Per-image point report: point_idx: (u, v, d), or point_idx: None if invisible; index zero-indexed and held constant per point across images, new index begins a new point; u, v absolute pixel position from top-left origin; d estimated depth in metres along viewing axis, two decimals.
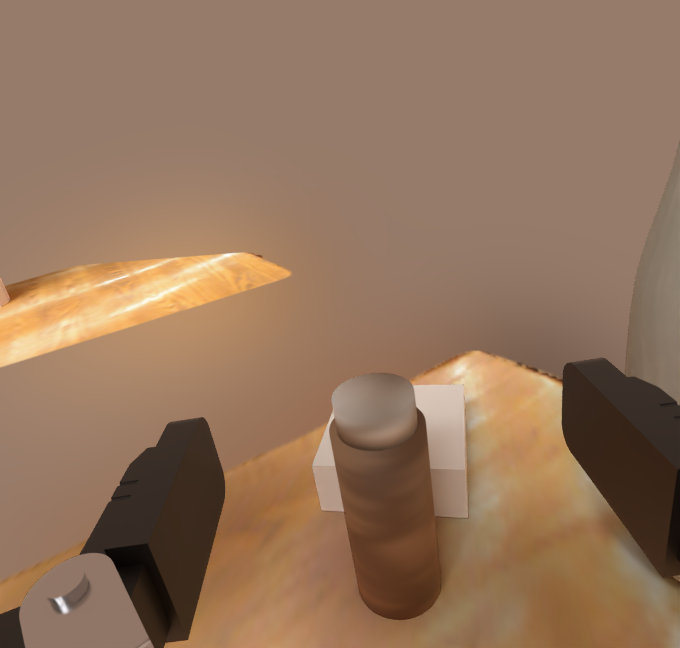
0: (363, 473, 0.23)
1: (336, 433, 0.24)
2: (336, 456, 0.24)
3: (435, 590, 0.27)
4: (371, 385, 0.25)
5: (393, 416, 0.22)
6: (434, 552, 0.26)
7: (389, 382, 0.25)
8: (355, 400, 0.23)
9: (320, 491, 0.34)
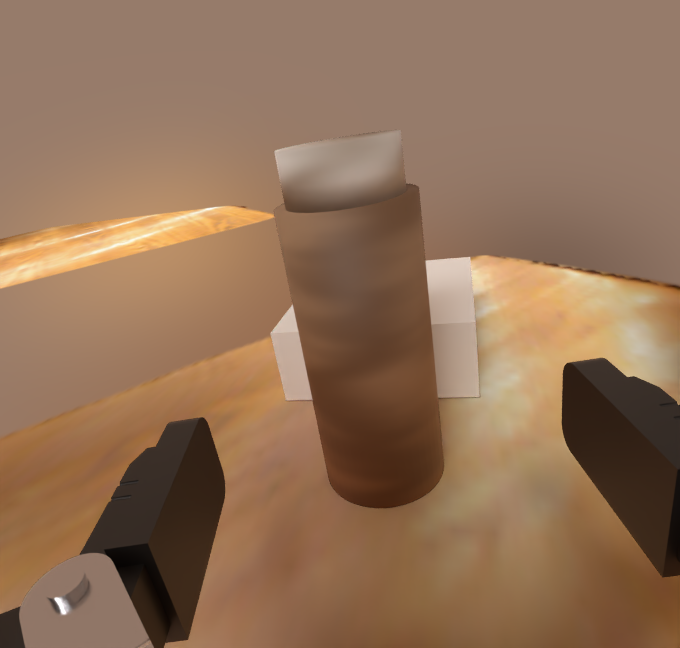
0: (321, 249, 0.15)
1: (284, 209, 0.16)
2: (283, 238, 0.16)
3: (435, 467, 0.19)
4: (336, 139, 0.16)
5: (366, 144, 0.14)
6: (434, 407, 0.18)
7: (363, 135, 0.16)
8: (310, 145, 0.15)
9: (283, 371, 0.26)
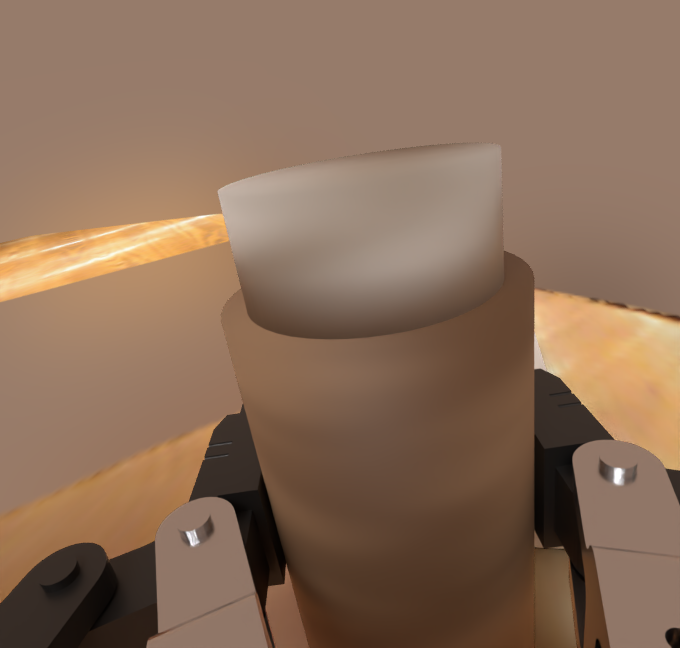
0: (320, 424, 0.06)
1: (243, 308, 0.08)
2: (238, 376, 0.07)
3: None
4: (353, 161, 0.08)
5: (435, 184, 0.05)
6: None
7: (409, 152, 0.08)
8: (297, 178, 0.07)
9: None
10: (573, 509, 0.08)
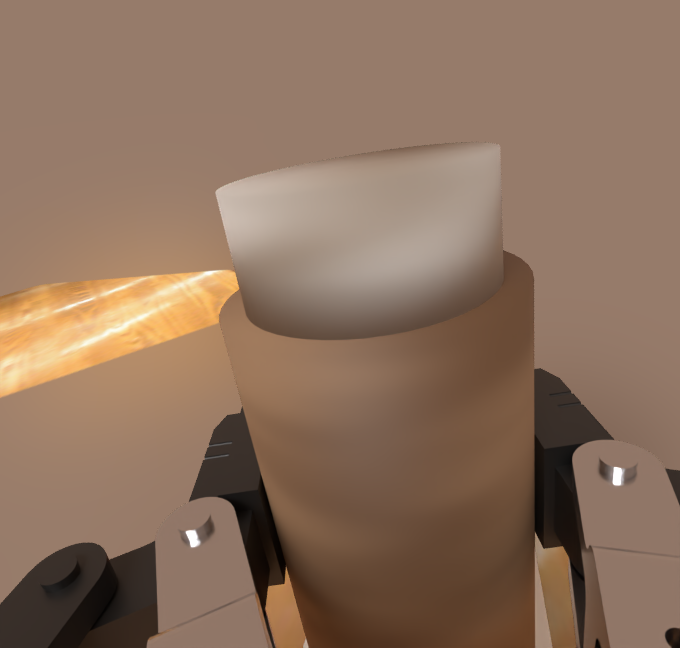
0: (319, 426, 0.06)
1: (241, 308, 0.08)
2: (237, 377, 0.07)
3: None
4: (351, 161, 0.08)
5: (434, 184, 0.05)
6: None
7: (408, 151, 0.08)
8: (294, 178, 0.07)
9: None
10: (572, 509, 0.08)
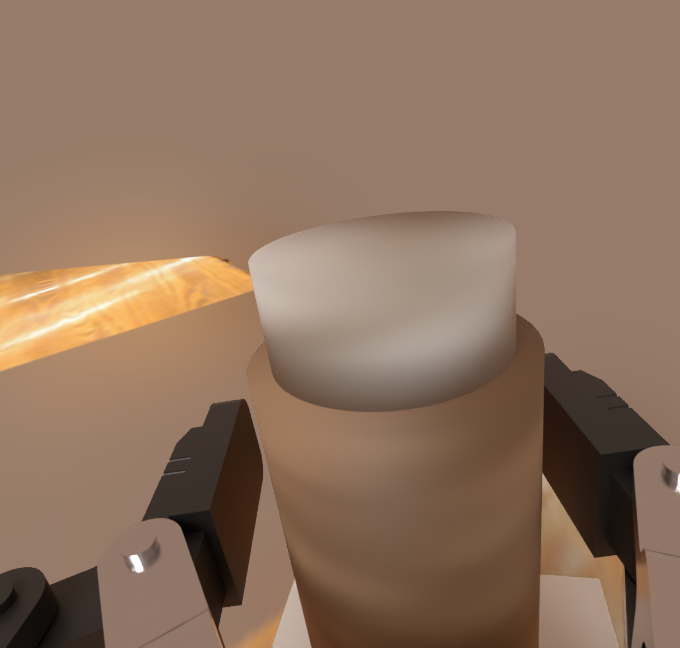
0: (343, 490, 0.07)
1: (268, 368, 0.08)
2: (263, 435, 0.08)
3: None
4: (373, 228, 0.08)
5: (457, 276, 0.06)
6: None
7: (425, 220, 0.08)
8: (323, 253, 0.07)
9: None
10: (633, 517, 0.07)
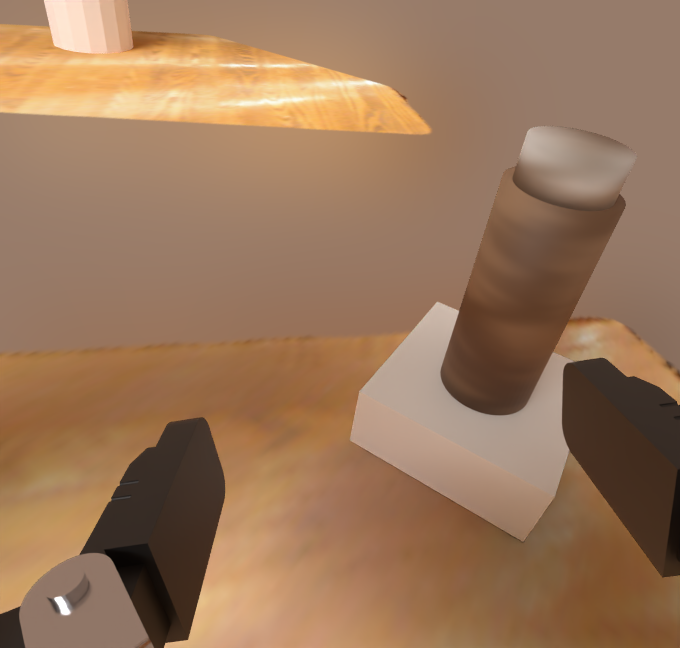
0: (527, 227, 0.19)
1: (511, 178, 0.20)
2: (500, 203, 0.20)
3: (523, 400, 0.25)
4: (579, 137, 0.19)
5: (604, 167, 0.17)
6: (545, 362, 0.23)
7: (603, 142, 0.19)
8: (558, 141, 0.19)
9: (357, 422, 0.26)
10: None
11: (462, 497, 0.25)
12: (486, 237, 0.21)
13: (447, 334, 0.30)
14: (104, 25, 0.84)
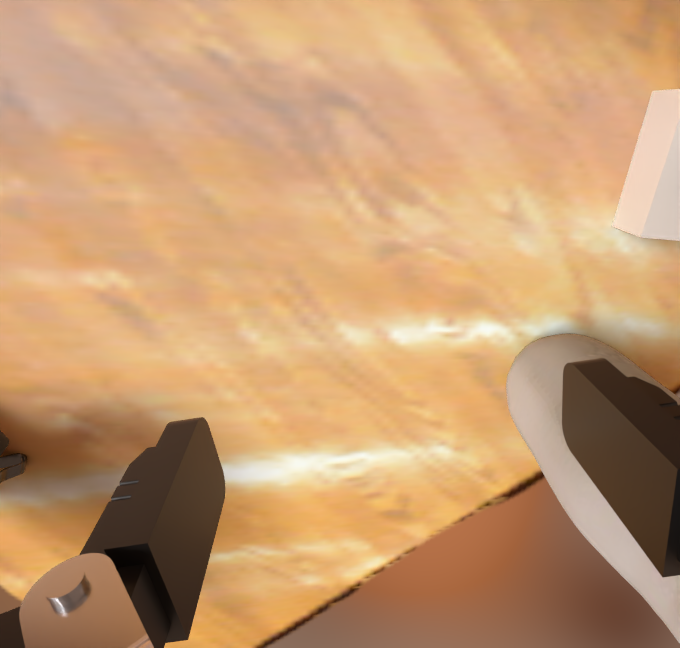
0: None
1: None
2: None
3: None
4: None
5: None
6: None
7: None
8: None
9: (666, 93, 0.35)
10: None
11: (629, 184, 0.38)
12: None
13: None
14: None
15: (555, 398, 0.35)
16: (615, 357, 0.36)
